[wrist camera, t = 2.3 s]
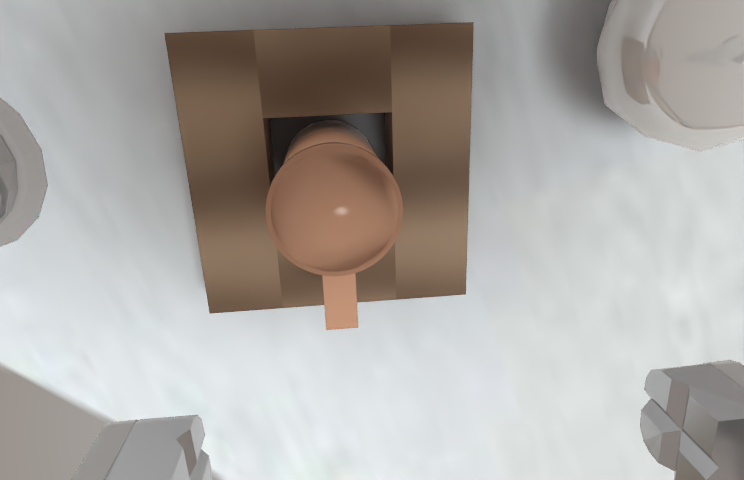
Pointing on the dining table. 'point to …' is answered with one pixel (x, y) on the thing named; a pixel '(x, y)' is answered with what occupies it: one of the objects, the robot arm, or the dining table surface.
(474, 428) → the dining table surface
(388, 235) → the copper mug
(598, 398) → the dining table surface
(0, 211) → the french press
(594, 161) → the dining table surface
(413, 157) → the holder
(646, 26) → the potion bottle
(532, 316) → the dining table surface
